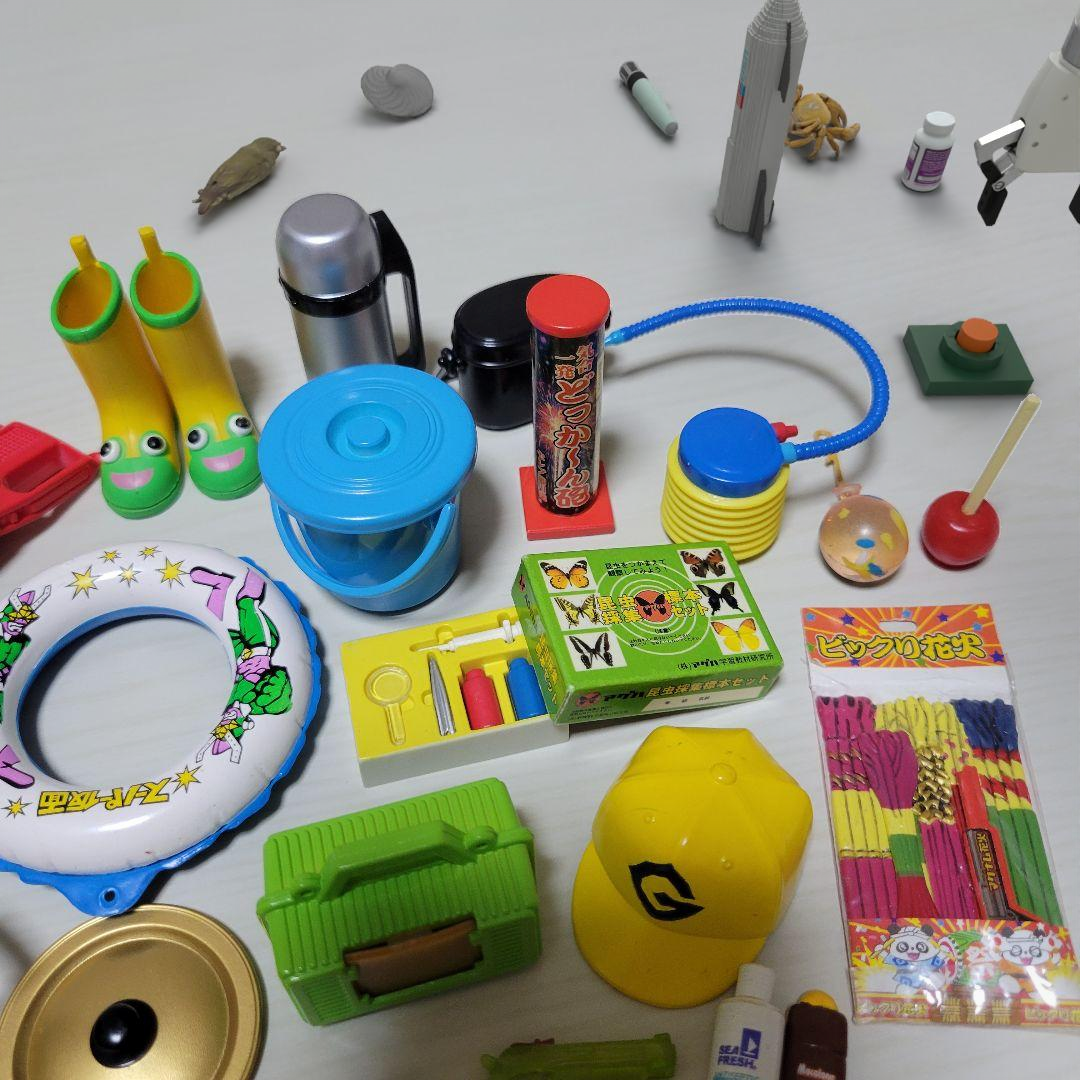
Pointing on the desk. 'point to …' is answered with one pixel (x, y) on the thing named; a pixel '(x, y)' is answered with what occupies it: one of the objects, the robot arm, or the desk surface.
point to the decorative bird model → (239, 172)
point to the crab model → (818, 121)
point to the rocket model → (761, 117)
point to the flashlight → (648, 97)
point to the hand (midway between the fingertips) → (1031, 217)
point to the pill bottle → (929, 152)
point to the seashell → (397, 90)
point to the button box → (965, 363)
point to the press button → (977, 335)
